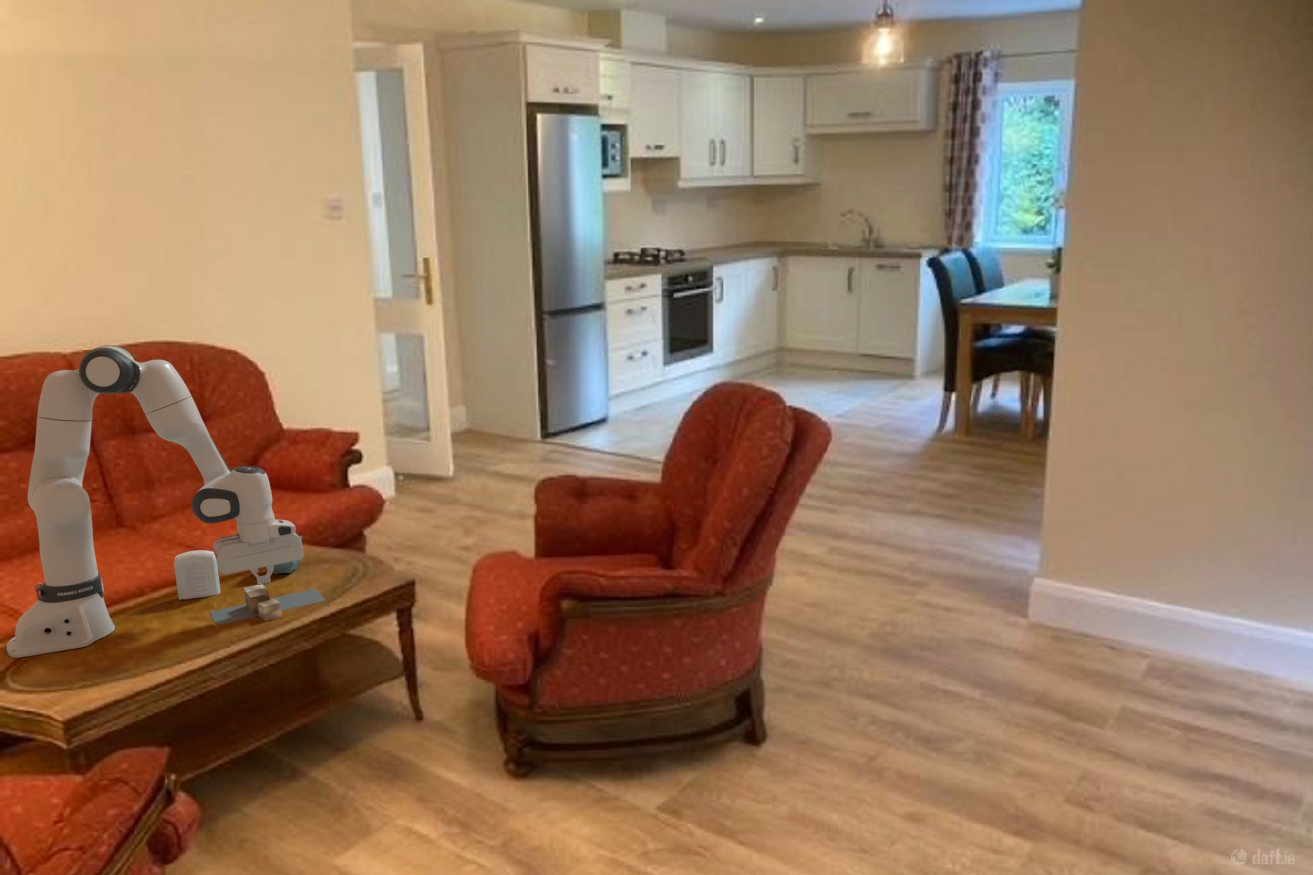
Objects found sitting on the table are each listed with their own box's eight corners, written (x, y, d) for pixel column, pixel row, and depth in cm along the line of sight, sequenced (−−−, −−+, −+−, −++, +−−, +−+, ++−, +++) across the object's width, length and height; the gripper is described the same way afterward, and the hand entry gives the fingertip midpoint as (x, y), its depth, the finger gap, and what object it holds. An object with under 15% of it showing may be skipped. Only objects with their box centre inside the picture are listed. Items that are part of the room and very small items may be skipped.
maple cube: (266, 622, 249) (263, 606, 248) (259, 618, 252) (257, 602, 251) (282, 617, 251) (280, 602, 251) (275, 613, 254) (273, 598, 254)
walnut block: (268, 592, 254) (271, 610, 255) (262, 583, 261) (264, 601, 262) (249, 596, 252) (252, 615, 253) (243, 587, 259) (246, 605, 260)
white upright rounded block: (222, 590, 273) (215, 546, 271) (220, 595, 269) (213, 550, 267) (180, 596, 270) (173, 551, 268) (177, 601, 266) (170, 556, 264)
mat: (217, 626, 248) (216, 625, 248) (209, 613, 257) (209, 611, 257) (326, 601, 261) (325, 600, 261) (315, 589, 270) (315, 588, 270)
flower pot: (295, 576, 282) (291, 544, 280) (263, 577, 282) (259, 546, 281) (306, 565, 291) (302, 535, 289) (275, 567, 291) (271, 536, 289)
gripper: (214, 541, 247) (222, 596, 250) (301, 525, 257) (308, 578, 260) (210, 535, 252) (217, 589, 255) (295, 520, 262) (302, 571, 265)
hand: (264, 583), depth 257 cm, fingers closed
